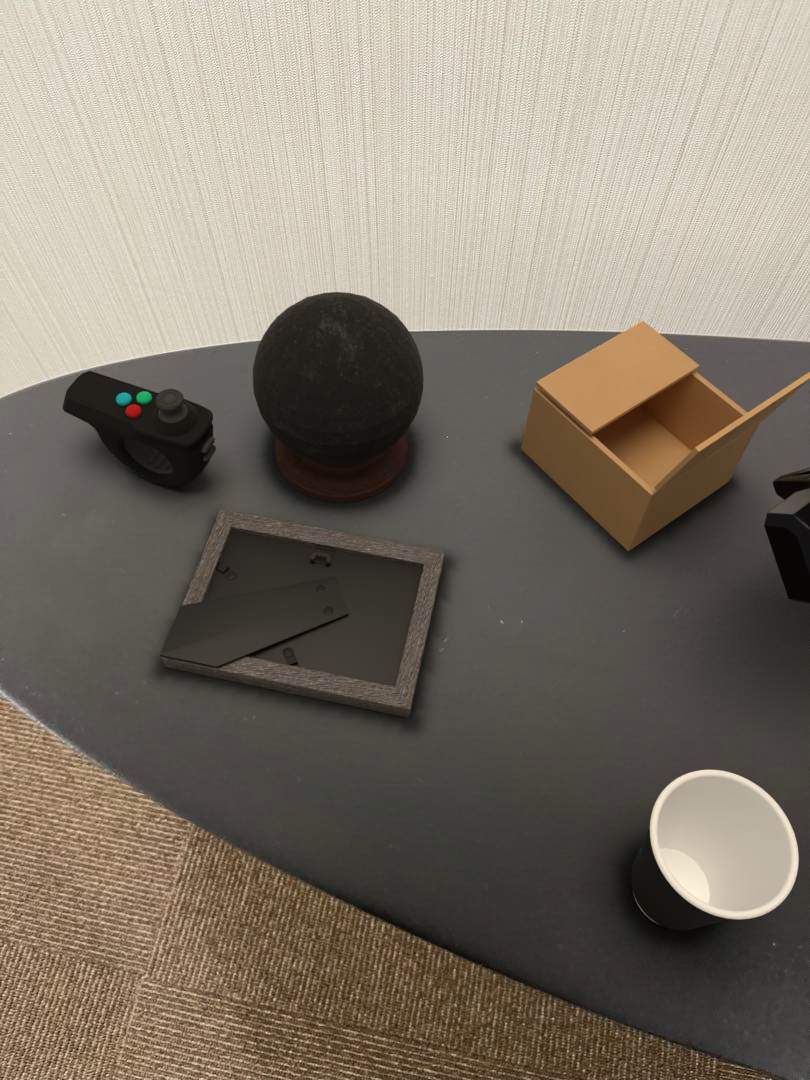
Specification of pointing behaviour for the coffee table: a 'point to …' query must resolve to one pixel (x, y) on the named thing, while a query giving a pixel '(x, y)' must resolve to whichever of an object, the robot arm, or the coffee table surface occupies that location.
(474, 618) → the coffee table surface
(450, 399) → the coffee table surface
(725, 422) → the carton
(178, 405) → the controller
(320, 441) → the black ball on stand
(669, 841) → the dixie cup
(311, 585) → the picture frame
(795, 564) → the robot arm
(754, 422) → the flap
